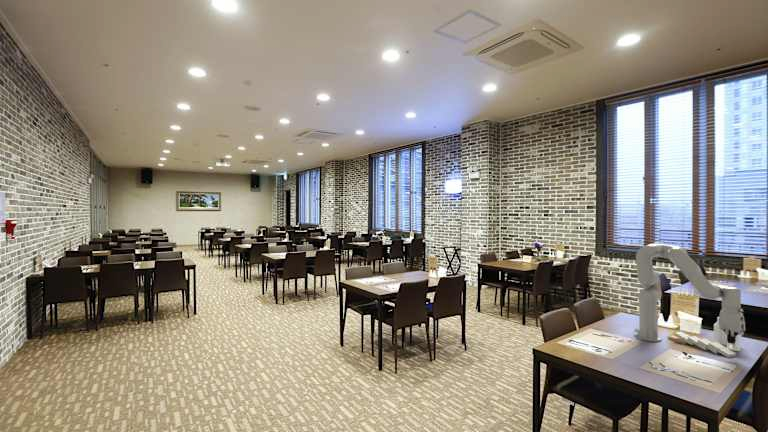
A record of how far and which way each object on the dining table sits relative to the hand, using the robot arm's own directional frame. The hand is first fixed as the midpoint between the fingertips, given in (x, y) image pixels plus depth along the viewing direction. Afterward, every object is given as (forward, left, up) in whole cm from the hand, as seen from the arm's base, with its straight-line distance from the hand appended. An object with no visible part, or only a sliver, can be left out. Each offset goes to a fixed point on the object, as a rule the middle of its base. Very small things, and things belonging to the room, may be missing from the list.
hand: (731, 342), depth 200 cm
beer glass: (-7, +14, -8) cm, 17 cm away
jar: (-15, +22, -8) cm, 28 cm away
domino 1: (-22, 0, -7) cm, 23 cm away
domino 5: (0, 0, -7) cm, 7 cm away
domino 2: (-18, 0, -6) cm, 19 cm away
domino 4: (-5, 0, -7) cm, 9 cm away
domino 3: (-11, 0, -7) cm, 13 cm away
